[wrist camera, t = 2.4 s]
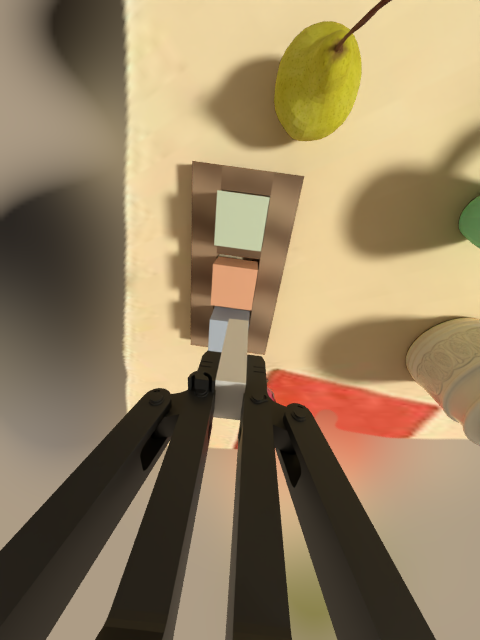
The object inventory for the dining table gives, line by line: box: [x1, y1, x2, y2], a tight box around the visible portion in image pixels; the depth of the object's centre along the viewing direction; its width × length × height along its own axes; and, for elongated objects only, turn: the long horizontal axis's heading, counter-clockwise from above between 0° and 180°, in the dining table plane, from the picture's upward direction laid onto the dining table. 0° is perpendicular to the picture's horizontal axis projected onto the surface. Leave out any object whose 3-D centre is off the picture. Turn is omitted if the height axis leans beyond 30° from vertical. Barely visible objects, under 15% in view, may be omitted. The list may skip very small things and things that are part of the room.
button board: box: [191, 161, 304, 355], centre depth 29 cm, size 24×12×2 cm, turn 173°
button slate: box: [208, 306, 250, 352], centre depth 30 cm, size 5×5×4 cm
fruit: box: [274, 0, 391, 141], centre depth 16 cm, size 7×7×12 cm
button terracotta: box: [211, 257, 258, 310], centre depth 26 cm, size 5×5×4 cm
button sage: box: [214, 190, 270, 251], centre depth 23 cm, size 5×5×4 cm
